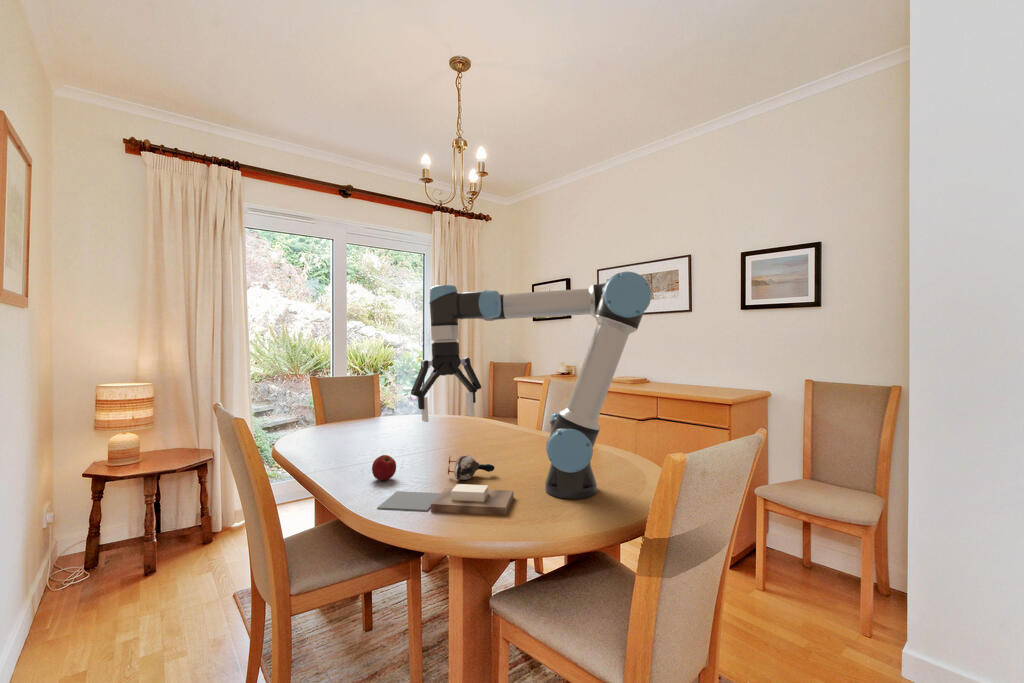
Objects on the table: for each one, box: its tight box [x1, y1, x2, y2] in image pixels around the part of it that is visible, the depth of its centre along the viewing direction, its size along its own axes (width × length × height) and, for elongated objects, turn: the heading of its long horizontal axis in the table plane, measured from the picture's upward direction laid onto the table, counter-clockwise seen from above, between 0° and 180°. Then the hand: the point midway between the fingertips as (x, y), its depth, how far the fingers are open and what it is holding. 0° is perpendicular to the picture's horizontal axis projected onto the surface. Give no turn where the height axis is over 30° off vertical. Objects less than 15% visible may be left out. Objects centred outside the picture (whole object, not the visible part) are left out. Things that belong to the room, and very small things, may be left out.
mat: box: [376, 490, 441, 512], centre depth 128 cm, size 14×13×1 cm
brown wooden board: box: [430, 487, 514, 516], centre depth 125 cm, size 20×13×2 cm, turn 81°
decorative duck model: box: [447, 455, 495, 481], centre depth 146 cm, size 15×8×15 cm
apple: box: [371, 454, 397, 482], centre depth 148 cm, size 8×8×8 cm
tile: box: [451, 483, 489, 502], centre depth 125 cm, size 9×6×2 cm, turn 81°
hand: (448, 418), depth 127 cm, fingers open, 13 cm apart
